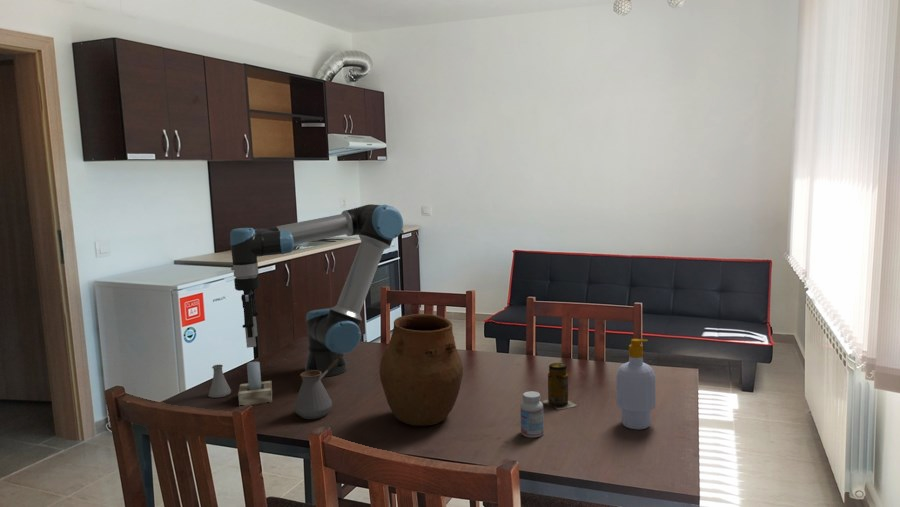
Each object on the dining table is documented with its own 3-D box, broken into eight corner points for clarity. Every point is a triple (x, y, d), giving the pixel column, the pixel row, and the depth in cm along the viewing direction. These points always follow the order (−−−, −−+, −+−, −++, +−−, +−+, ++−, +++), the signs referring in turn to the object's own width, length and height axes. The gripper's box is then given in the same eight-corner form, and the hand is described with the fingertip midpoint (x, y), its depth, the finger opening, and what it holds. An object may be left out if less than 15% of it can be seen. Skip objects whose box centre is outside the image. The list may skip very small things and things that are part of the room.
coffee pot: (314, 424, 188) (311, 374, 186) (286, 417, 194) (282, 369, 192) (361, 400, 206) (358, 354, 204) (333, 395, 212) (330, 350, 210)
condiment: (561, 397, 202) (560, 360, 200) (577, 406, 195) (577, 367, 193) (541, 401, 199) (540, 364, 197) (557, 410, 191) (557, 371, 190)
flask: (224, 398, 213) (221, 369, 211) (204, 398, 214) (201, 368, 213) (235, 391, 220) (233, 362, 218) (216, 390, 221) (213, 362, 220)
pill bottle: (519, 430, 178) (518, 390, 177) (540, 428, 179) (540, 389, 177) (523, 439, 172) (522, 398, 171) (546, 437, 173) (545, 397, 171)
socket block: (272, 392, 217) (271, 380, 217) (271, 402, 208) (270, 390, 207) (241, 395, 215) (240, 384, 214) (239, 406, 205) (238, 394, 205)
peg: (262, 396, 214) (259, 361, 212) (262, 400, 210) (259, 364, 208) (249, 397, 213) (247, 362, 211) (249, 401, 209) (246, 365, 207)
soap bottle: (658, 433, 173) (658, 345, 170) (618, 431, 175) (617, 344, 171) (652, 418, 183) (653, 335, 180) (615, 417, 185) (615, 334, 182)
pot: (434, 443, 172) (430, 333, 168) (364, 427, 185) (358, 324, 181) (479, 412, 192) (476, 313, 188) (413, 399, 205) (408, 307, 201)
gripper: (236, 271, 217) (242, 333, 220) (231, 284, 193) (237, 353, 196) (259, 269, 219) (265, 330, 222) (257, 282, 195) (263, 350, 198)
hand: (252, 341), depth 209 cm, fingers open, 13 cm apart
